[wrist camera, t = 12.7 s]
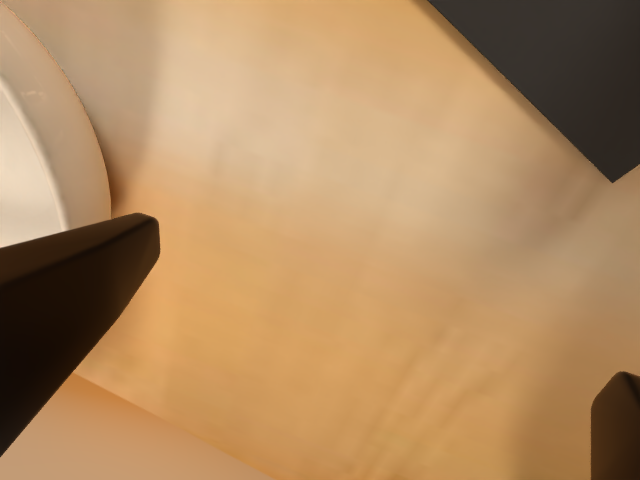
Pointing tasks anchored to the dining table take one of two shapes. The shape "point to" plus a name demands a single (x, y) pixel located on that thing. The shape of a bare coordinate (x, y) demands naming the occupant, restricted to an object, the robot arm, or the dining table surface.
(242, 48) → the dining table surface
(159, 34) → the dining table surface
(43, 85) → the serving bowl
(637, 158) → the place mat
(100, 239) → the robot arm
